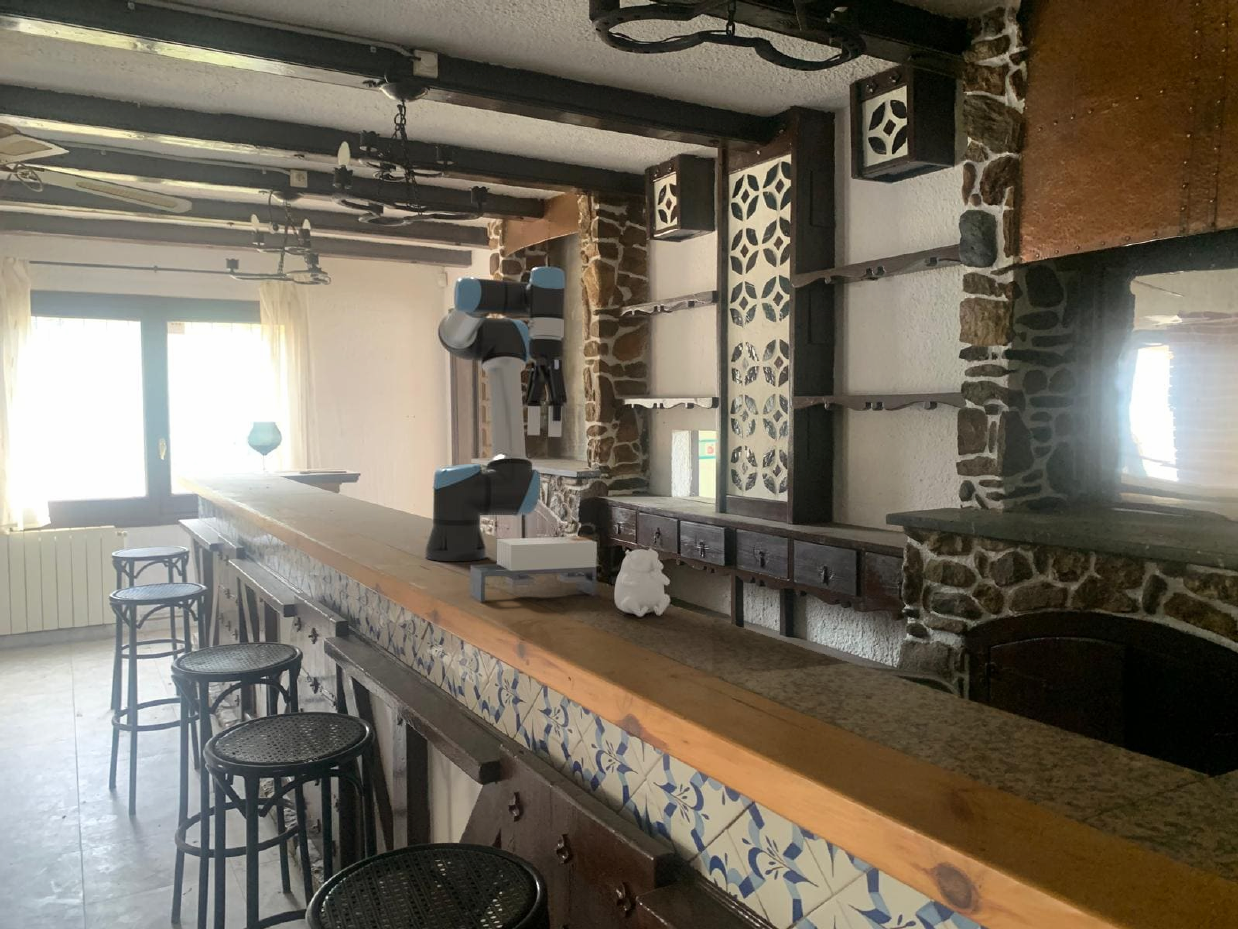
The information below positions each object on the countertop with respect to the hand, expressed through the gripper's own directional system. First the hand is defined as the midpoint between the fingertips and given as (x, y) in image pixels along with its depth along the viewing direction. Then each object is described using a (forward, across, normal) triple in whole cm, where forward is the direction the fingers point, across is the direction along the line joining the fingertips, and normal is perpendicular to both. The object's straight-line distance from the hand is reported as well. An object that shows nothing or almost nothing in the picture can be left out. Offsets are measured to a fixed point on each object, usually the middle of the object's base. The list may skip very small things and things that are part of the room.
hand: (543, 436), depth 204 cm
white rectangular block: (+29, +18, -5) cm, 35 cm away
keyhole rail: (+32, +18, -8) cm, 37 cm away
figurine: (+32, +40, +5) cm, 51 cm away
